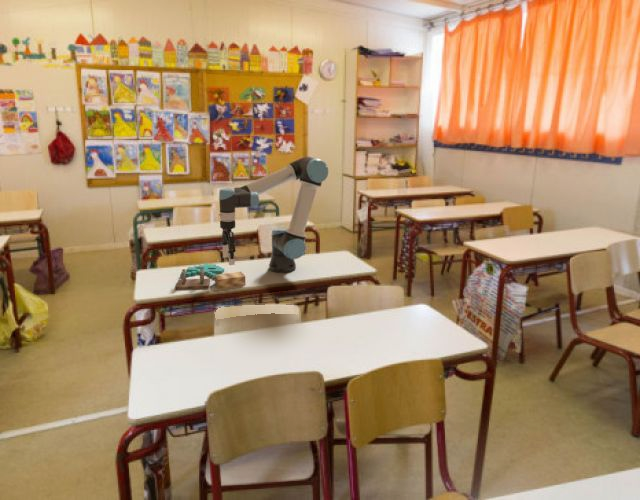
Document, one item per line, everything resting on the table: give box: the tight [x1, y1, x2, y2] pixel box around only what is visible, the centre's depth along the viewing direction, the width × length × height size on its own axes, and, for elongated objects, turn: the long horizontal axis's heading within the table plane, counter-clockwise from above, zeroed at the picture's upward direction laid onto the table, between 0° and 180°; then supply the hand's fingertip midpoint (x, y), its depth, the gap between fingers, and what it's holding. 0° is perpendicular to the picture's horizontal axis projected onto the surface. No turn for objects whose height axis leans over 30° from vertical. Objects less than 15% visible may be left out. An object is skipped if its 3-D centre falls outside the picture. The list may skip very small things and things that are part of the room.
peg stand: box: [175, 268, 211, 291], centre depth 247 cm, size 16×11×8 cm
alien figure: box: [179, 263, 225, 280], centre depth 267 cm, size 20×2×20 cm
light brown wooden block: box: [214, 271, 247, 289], centre depth 250 cm, size 14×8×5 cm, turn 115°
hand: (228, 261), depth 247 cm, fingers open, 13 cm apart
